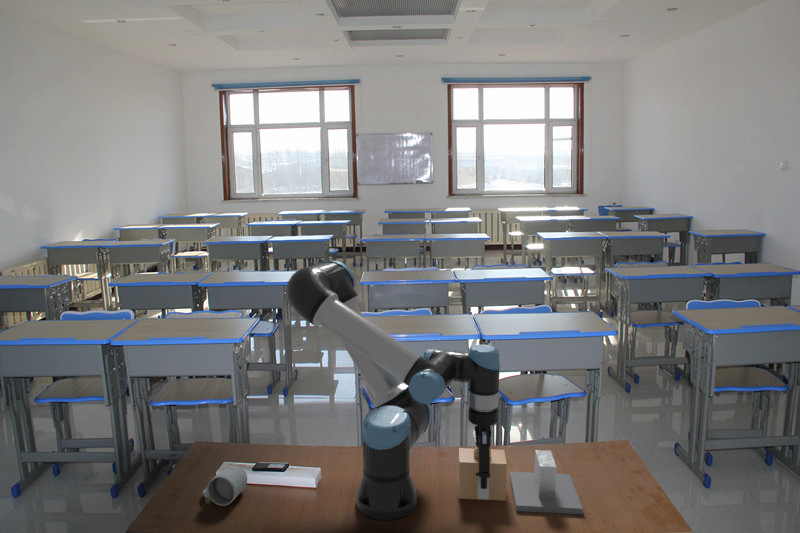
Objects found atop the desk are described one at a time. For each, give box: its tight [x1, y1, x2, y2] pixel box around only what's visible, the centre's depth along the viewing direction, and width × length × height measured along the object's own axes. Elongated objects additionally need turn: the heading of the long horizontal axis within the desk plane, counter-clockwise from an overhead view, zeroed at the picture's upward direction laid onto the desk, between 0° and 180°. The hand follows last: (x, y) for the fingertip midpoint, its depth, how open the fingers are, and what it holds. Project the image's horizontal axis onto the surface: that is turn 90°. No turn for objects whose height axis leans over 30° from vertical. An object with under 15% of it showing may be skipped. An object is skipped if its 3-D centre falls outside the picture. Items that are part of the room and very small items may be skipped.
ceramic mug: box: [202, 464, 248, 507], centre depth 148 cm, size 11×8×8 cm
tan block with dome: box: [457, 446, 508, 502], centre depth 149 cm, size 12×7×12 cm, turn 85°
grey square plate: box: [508, 449, 584, 515], centre depth 148 cm, size 16×16×10 cm
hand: (481, 483), depth 150 cm, fingers open, 13 cm apart
